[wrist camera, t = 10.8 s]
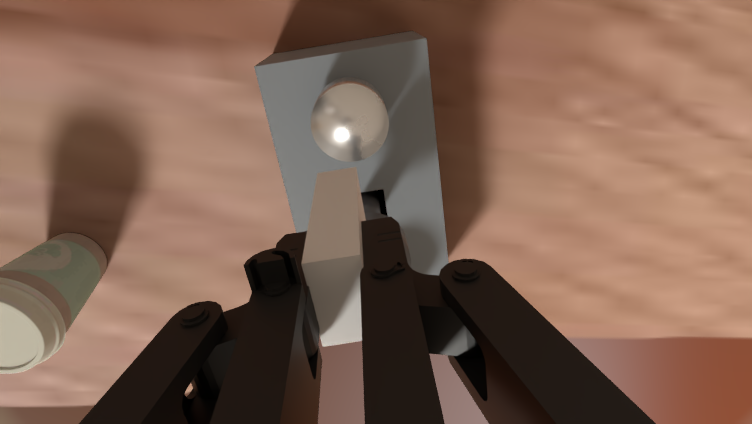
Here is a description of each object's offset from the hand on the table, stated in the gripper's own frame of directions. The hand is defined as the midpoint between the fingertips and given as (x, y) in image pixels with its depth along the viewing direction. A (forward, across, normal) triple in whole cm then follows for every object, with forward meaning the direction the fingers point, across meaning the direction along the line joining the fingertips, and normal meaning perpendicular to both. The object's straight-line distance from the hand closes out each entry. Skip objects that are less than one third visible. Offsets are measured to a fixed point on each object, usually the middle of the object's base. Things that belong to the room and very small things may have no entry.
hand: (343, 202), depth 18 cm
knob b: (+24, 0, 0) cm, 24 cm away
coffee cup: (+25, -30, -12) cm, 41 cm away
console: (+25, 0, -8) cm, 26 cm away
